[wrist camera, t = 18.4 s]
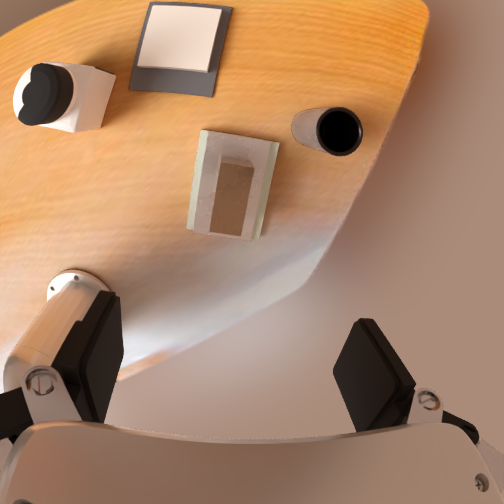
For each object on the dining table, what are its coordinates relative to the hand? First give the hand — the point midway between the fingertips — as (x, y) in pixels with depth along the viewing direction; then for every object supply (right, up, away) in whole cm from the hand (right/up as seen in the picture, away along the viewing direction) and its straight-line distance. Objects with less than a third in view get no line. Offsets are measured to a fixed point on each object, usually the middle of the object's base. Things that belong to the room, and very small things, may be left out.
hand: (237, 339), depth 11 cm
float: (-2, +11, +23) cm, 26 cm away
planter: (+7, +18, +22) cm, 30 cm away
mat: (-8, +27, +17) cm, 33 cm away
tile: (-8, +24, +17) cm, 30 cm away
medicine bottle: (-20, +22, +18) cm, 35 cm away
